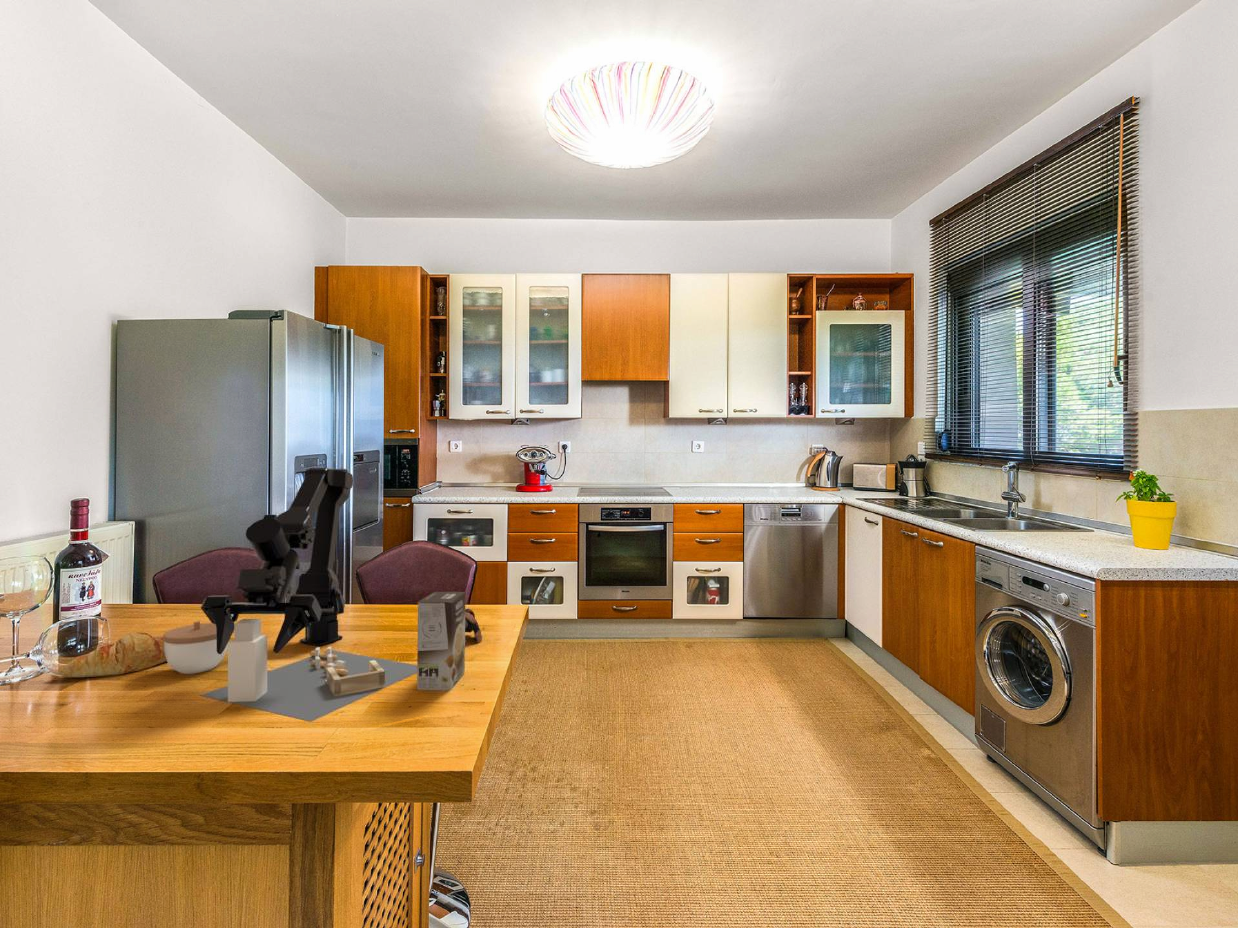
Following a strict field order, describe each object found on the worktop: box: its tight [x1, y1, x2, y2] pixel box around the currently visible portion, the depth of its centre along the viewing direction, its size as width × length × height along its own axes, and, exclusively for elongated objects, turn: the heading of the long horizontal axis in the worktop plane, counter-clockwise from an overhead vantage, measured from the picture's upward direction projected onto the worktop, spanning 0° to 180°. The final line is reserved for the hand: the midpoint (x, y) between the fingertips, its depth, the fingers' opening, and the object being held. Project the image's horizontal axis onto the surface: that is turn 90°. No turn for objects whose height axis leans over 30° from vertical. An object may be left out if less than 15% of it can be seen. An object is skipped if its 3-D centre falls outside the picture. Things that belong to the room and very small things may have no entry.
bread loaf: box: [57, 631, 167, 678], centre depth 127 cm, size 21×10×8 cm, turn 139°
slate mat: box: [199, 649, 417, 723], centre depth 119 cm, size 26×28×1 cm
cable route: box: [309, 646, 348, 676], centre depth 127 cm, size 16×5×2 cm, turn 34°
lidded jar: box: [162, 620, 228, 675], centre depth 125 cm, size 11×11×9 cm
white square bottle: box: [227, 618, 268, 703], centre depth 111 cm, size 4×4×13 cm
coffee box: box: [416, 591, 466, 691], centre depth 120 cm, size 9×6×16 cm
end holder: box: [326, 660, 386, 696], centre depth 118 cm, size 8×8×3 cm
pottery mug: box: [465, 608, 483, 644], centre depth 147 cm, size 12×10×8 cm
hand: (247, 652), depth 111 cm, fingers open, 9 cm apart
